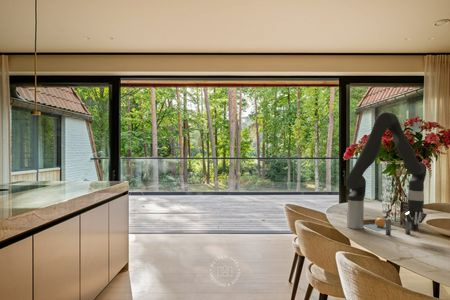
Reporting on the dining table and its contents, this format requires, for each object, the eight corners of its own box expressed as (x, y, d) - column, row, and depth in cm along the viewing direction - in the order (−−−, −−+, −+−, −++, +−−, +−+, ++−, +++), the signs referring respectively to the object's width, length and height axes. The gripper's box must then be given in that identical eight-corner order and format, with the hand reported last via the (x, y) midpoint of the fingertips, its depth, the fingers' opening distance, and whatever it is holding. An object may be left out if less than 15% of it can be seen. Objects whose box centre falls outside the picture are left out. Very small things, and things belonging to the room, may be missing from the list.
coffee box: (399, 226, 208) (399, 201, 208) (406, 225, 211) (406, 200, 211) (412, 229, 200) (413, 203, 200) (419, 229, 203) (420, 203, 203)
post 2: (404, 233, 191) (404, 218, 191) (408, 233, 192) (408, 217, 192) (407, 234, 189) (407, 219, 189) (411, 234, 189) (411, 218, 189)
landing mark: (362, 225, 211) (362, 224, 211) (381, 224, 214) (381, 224, 214) (376, 230, 197) (376, 230, 197) (396, 229, 200) (396, 229, 200)
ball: (373, 216, 208) (379, 220, 202) (382, 215, 209) (388, 219, 203) (372, 225, 209) (378, 229, 203) (381, 224, 210) (387, 228, 204)
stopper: (354, 223, 216) (354, 219, 216) (378, 222, 219) (378, 218, 219) (356, 224, 214) (356, 220, 214) (380, 223, 217) (380, 219, 217)
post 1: (384, 234, 189) (384, 218, 189) (388, 234, 189) (388, 218, 189) (387, 235, 186) (387, 219, 186) (391, 235, 187) (391, 219, 187)
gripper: (420, 197, 181) (419, 228, 182) (400, 197, 179) (399, 229, 179) (431, 199, 174) (430, 232, 174) (410, 200, 171) (409, 233, 172)
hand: (414, 230), depth 177 cm, fingers closed
